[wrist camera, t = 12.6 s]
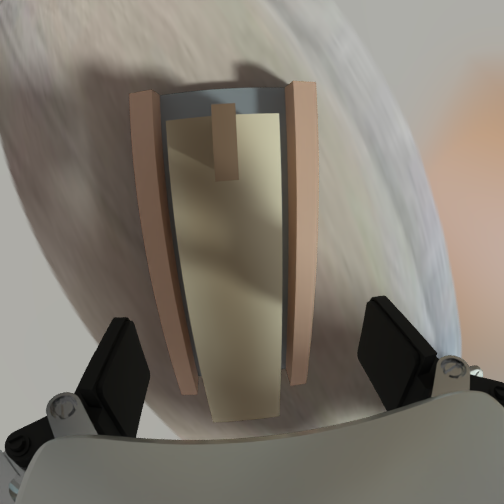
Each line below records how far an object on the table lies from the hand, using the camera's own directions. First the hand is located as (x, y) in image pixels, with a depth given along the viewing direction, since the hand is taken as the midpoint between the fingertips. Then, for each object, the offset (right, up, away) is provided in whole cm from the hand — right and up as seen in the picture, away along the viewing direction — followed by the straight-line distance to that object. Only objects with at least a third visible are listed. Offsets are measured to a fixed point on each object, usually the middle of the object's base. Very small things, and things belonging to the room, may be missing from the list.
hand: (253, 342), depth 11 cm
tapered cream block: (-1, +3, +7) cm, 8 cm away
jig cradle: (-1, +4, +8) cm, 9 cm away
